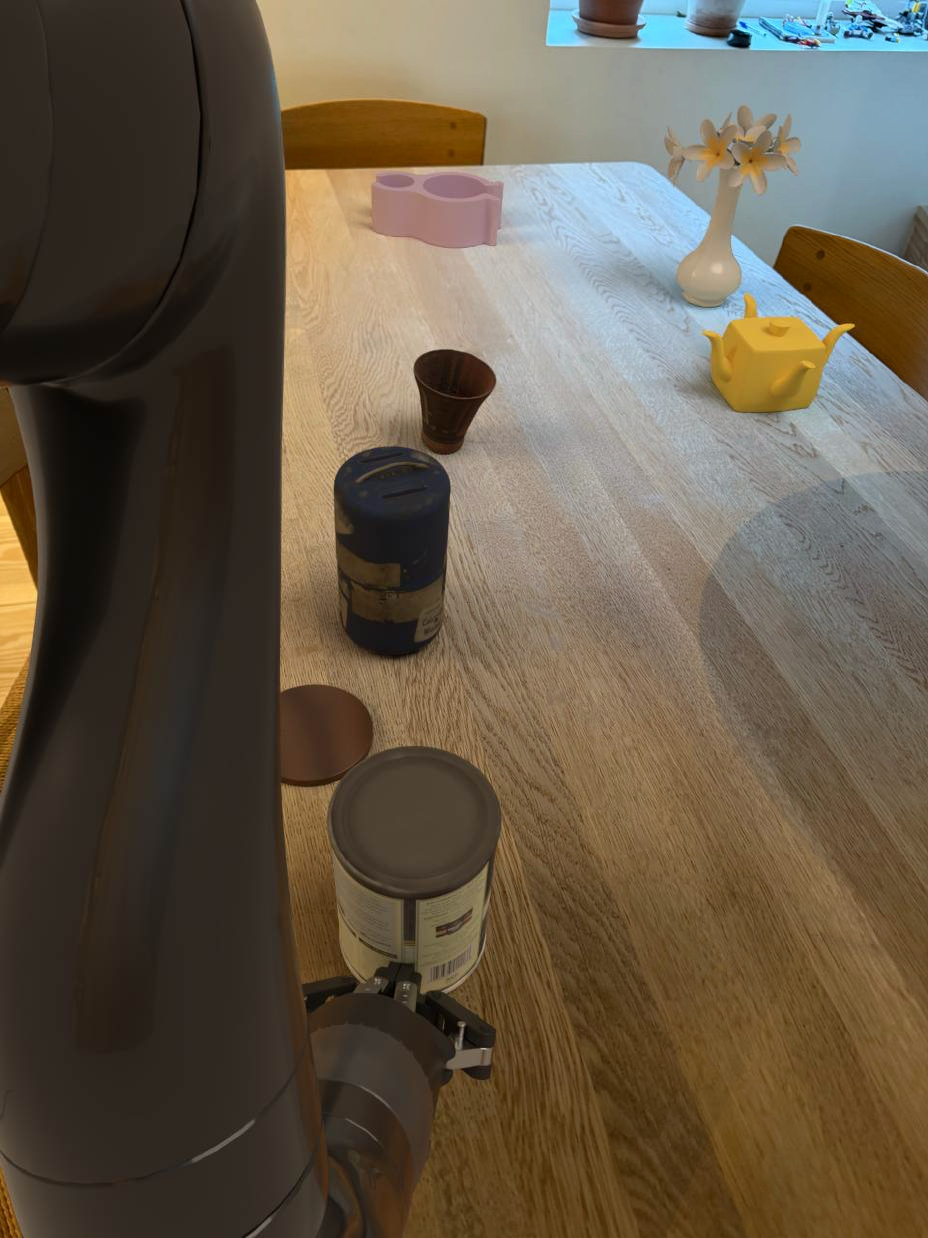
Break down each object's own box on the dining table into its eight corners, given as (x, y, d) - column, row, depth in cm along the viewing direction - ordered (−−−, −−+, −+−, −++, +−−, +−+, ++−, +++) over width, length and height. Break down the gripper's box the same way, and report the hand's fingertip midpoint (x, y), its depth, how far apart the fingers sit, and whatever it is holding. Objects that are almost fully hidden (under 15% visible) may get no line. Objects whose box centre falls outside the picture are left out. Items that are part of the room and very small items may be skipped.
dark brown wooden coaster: (281, 806, 73) (280, 800, 72) (229, 718, 79) (228, 712, 78) (395, 754, 77) (395, 747, 76) (338, 674, 83) (338, 668, 82)
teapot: (684, 396, 119) (701, 324, 112) (726, 352, 128) (744, 283, 121) (797, 436, 114) (822, 363, 107) (832, 387, 123) (858, 317, 116)
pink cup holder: (366, 238, 148) (365, 193, 144) (381, 208, 157) (380, 164, 153) (494, 251, 147) (497, 206, 142) (502, 220, 156) (505, 176, 151)
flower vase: (625, 282, 142) (657, 97, 125) (740, 276, 145) (787, 96, 128) (656, 323, 133) (694, 131, 115) (777, 317, 136) (833, 128, 119)
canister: (335, 594, 90) (326, 432, 78) (435, 586, 92) (441, 425, 79) (345, 668, 83) (336, 503, 71) (452, 658, 85) (461, 494, 72)
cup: (482, 475, 105) (489, 395, 98) (403, 462, 106) (404, 382, 99) (496, 432, 111) (503, 353, 104) (422, 420, 112) (423, 342, 105)
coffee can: (394, 841, 71) (393, 719, 61) (513, 912, 67) (533, 794, 58) (305, 950, 65) (290, 833, 55) (432, 1035, 61) (439, 925, 51)
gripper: (508, 1052, 42) (513, 933, 59) (214, 1003, 43) (304, 901, 60) (485, 1225, 42) (497, 1055, 59) (190, 1172, 42) (287, 1020, 60)
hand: (399, 977), depth 59 cm, fingers closed
